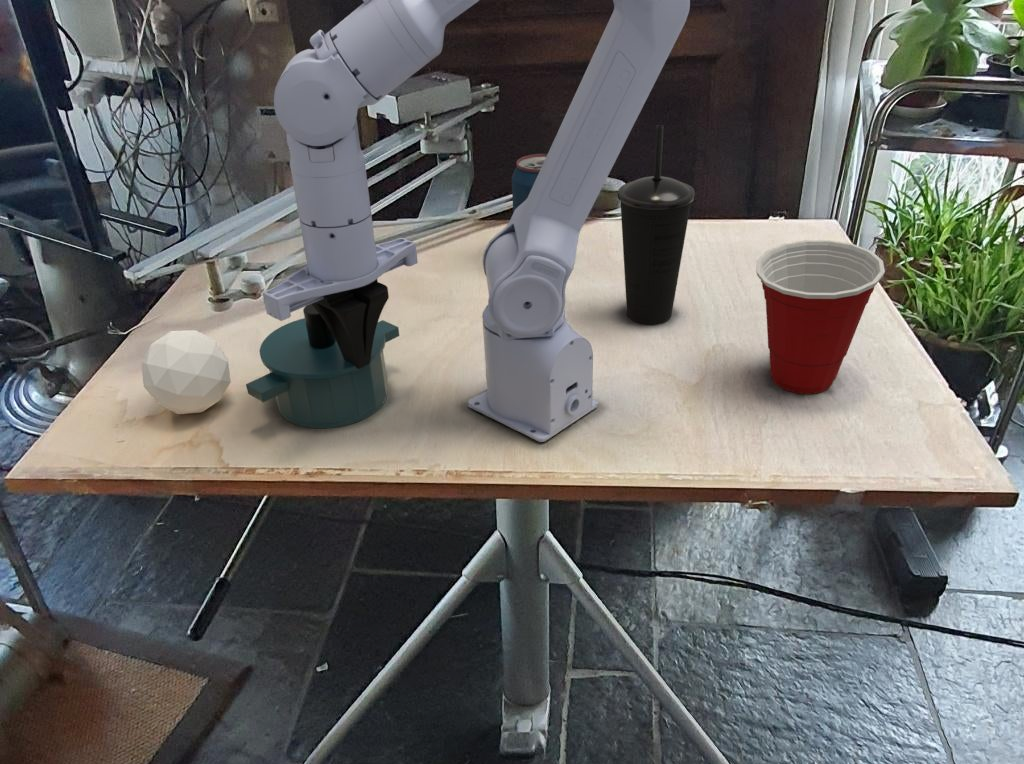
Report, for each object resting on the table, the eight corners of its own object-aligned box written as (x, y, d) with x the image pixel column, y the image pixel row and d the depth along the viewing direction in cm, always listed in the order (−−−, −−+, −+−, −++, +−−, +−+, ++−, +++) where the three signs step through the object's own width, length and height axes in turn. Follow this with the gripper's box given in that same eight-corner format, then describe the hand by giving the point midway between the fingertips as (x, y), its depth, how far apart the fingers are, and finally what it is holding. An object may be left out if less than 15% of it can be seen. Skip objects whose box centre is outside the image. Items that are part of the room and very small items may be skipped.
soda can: (556, 243, 114) (555, 148, 107) (580, 263, 109) (581, 164, 102) (506, 253, 112) (501, 157, 105) (528, 274, 106) (525, 174, 99)
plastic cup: (719, 364, 88) (732, 249, 81) (813, 342, 90) (833, 230, 84) (783, 420, 79) (803, 297, 72) (884, 395, 82) (913, 274, 75)
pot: (430, 382, 87) (425, 332, 84) (297, 455, 78) (286, 402, 75) (363, 349, 93) (356, 301, 90) (232, 413, 84) (219, 362, 80)
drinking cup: (665, 294, 101) (677, 111, 89) (697, 323, 95) (715, 131, 83) (602, 305, 99) (607, 120, 87) (631, 336, 93) (640, 142, 81)
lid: (411, 349, 82) (406, 304, 80) (311, 399, 76) (302, 352, 73) (335, 313, 89) (328, 270, 86) (237, 356, 82) (226, 312, 80)
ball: (181, 437, 86) (110, 384, 82) (224, 374, 89) (158, 321, 85) (216, 426, 80) (141, 369, 76) (261, 360, 84) (192, 302, 80)
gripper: (373, 180, 78) (390, 320, 86) (229, 229, 69) (262, 379, 77) (428, 198, 74) (440, 343, 82) (281, 252, 65) (311, 408, 73)
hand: (357, 362), depth 79 cm, fingers closed, pressing on lid
